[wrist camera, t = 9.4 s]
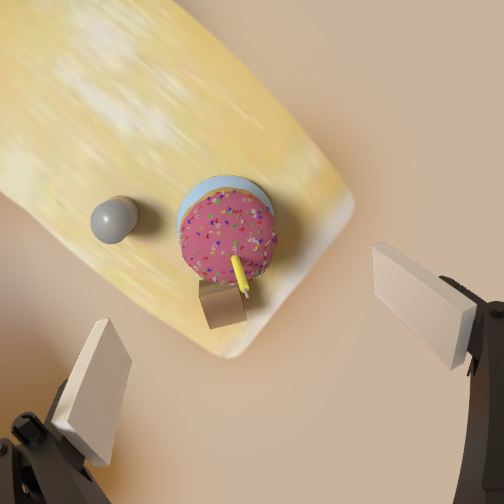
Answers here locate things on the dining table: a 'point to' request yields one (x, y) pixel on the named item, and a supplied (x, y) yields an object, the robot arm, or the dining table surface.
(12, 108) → the dining table surface
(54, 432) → the robot arm
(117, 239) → the grey cylinder
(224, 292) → the walnut block
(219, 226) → the cupcake
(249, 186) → the saucer
